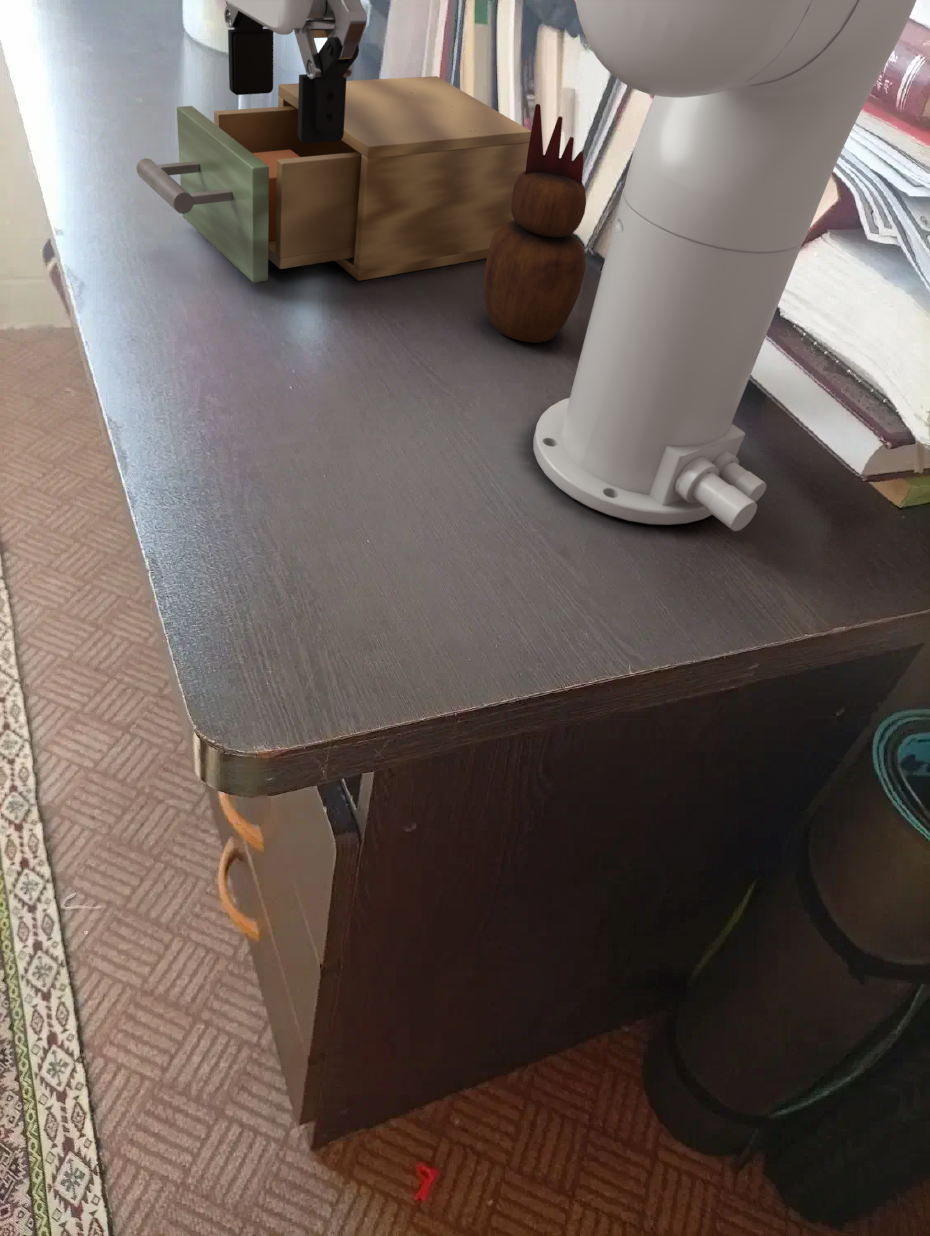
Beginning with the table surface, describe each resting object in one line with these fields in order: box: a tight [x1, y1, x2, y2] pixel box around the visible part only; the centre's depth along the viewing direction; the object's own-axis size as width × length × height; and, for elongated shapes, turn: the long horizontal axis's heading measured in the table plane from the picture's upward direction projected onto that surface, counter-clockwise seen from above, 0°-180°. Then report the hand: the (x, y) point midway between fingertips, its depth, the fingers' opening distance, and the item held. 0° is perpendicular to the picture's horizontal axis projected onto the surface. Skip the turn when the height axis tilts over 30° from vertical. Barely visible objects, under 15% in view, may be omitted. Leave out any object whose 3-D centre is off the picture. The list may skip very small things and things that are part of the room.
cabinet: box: [277, 75, 531, 281], centre depth 76 cm, size 15×13×10 cm
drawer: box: [136, 105, 362, 283], centre depth 70 cm, size 18×11×8 cm, turn 126°
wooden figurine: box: [483, 103, 587, 344], centre depth 65 cm, size 7×6×15 cm
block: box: [252, 150, 300, 241], centre depth 71 cm, size 4×4×4 cm
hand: (284, 115), depth 67 cm, fingers open, 9 cm apart
